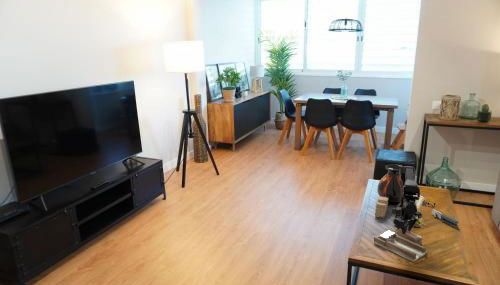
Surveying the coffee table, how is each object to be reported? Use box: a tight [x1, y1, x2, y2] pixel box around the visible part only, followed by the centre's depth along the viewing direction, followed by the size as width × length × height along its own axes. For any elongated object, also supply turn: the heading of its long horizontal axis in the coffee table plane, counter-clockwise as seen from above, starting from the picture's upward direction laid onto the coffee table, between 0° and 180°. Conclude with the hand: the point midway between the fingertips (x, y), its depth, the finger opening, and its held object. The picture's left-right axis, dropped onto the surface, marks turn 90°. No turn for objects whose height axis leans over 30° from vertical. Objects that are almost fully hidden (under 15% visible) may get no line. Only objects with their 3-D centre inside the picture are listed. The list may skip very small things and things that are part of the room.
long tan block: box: [397, 228, 423, 246], centre depth 201 cm, size 5×14×5 cm, turn 24°
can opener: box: [431, 208, 459, 228], centre depth 224 cm, size 19×6×5 cm, turn 18°
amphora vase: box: [376, 163, 404, 207], centre depth 248 cm, size 22×22×28 cm
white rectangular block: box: [379, 229, 396, 242], centre depth 200 cm, size 9×4×4 cm, turn 128°
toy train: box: [374, 196, 388, 219], centre depth 234 cm, size 6×17×10 cm, turn 151°
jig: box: [373, 230, 428, 263], centre depth 194 cm, size 14×24×4 cm, turn 36°
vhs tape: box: [421, 200, 436, 209], centre depth 249 cm, size 14×8×2 cm, turn 148°
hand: (406, 232), depth 190 cm, fingers open, 5 cm apart
